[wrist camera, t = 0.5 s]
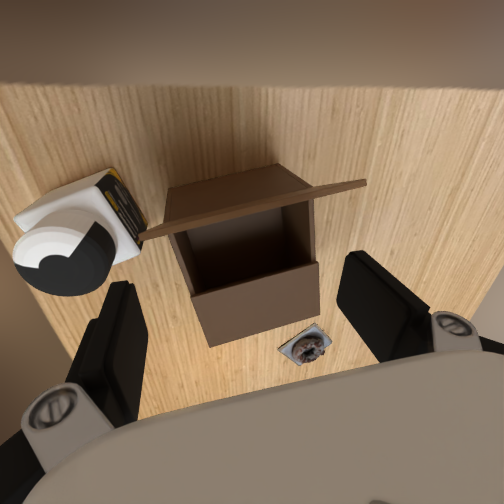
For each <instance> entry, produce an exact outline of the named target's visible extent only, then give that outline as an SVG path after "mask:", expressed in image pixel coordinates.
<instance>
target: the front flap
mask: <svg viewBox="0 0 504 504" xmlns="http://www.w3.org/2000/svg"><path fill="white" fill-rule="evenodd" d="M366 185H367V183H366V179H360V180H354V181H348V182H341V183H335V184H328V185H322V186H315V187H311V188H307V189H303V190H299V191H295V192H291V193H286V194H282V195H278V196H274V197H270V198H266V199H262V200H257V201H253V202H249V203H245V204H241V205H237V206H233V207H228V208H224V209H220V210H216V211H212V212H208V213H204V214H199V215H195V216H191V217H187V218H183V219H179V220H175V221H170V222H166V223H162V224H160V225H158V226H156V227H153V228H151V229H149V230H146V231H144V232H142V233H140V234H138V237H139V240H140V241H144V240H148V239H152V238H156V237H161V236H165V235H169V234H173V233H177V232H181V231H185V230H189V229H193V228H197V227H201V226H205V225H209V224H213V223H217V222H221V221H225V220H229V219H234V218H238V217H242V216H246V215H250V214H254V213H258V212H262V211H266V210H270V209H274V208H278V207H282V206H286V205H290V204H294V203H298V202H302V201H306V200H311V199H315V198H319V197H323V196H327V195H331V194H335V193H339V192H343V191H347V190H351V189H355V188H359V187H363V186H366Z"/></svg>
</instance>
